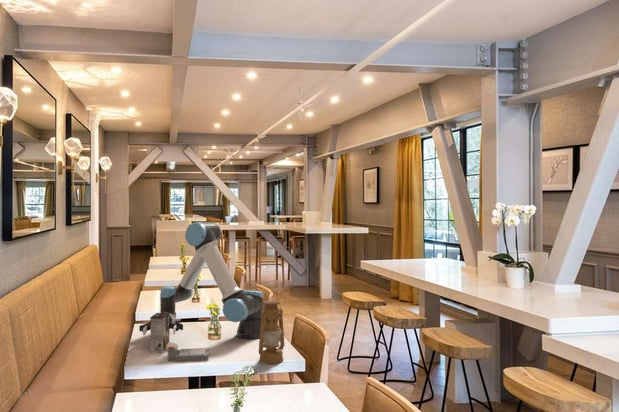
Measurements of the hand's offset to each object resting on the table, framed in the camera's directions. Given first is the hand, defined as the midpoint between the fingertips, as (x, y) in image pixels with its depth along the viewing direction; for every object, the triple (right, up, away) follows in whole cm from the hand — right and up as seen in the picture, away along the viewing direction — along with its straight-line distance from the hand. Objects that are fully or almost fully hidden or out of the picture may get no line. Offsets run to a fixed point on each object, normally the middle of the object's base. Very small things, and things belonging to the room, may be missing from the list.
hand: (158, 331), depth 231 cm
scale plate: (+18, -7, -9) cm, 21 cm away
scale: (+15, -9, -9) cm, 20 cm away
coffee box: (0, -9, +3) cm, 10 cm away
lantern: (+53, -9, -13) cm, 55 cm away
